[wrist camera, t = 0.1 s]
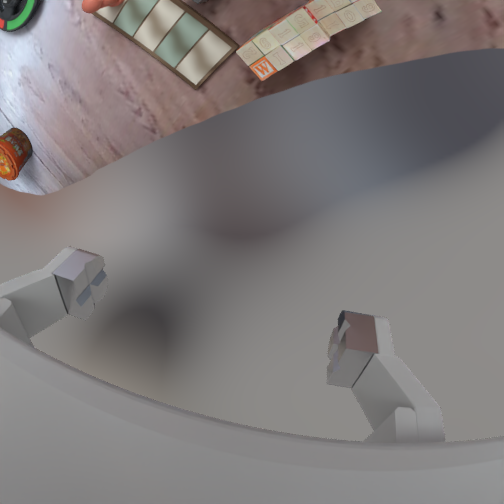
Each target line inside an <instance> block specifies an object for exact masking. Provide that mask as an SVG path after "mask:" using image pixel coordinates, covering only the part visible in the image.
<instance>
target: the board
mask: <svg viewBox="0 0 504 504" xmlns="http://www.w3.org/2000/svg"><path fill="white" fill-rule="evenodd" d="M92 14H93V15H95V16H96V17H98V18H99V19H101V20H102V21H104V22H105V23H107V24H108V25H110V26H111V27H113V28H114V29H116V30H117V31H118V32H120V33H121V34H123V35H124V36H126V37H127V38H128V39H130V40H131V41H133V42H134V43H135V44H137V45H138V46H139V47H141V48H142V49H144V50H145V51H146V52H148V53H149V54H150V55H152V56H153V57H154V58H156V59H157V60H158V61H160V62H161V63H162V64H164V65H165V66H166V67H167V68H169V69H170V70H171V71H173V72H174V73H175V74H176V75H178V76H179V77H180V78H182V79H183V80H184V81H185V82H187V83H188V84H189V85H190V86H192V87H193V88H194V89H195V90H196V89H197V88H198V87H199V86H200V85H201V84H202V83H203V82H204V81H205V80H206V79H207V78H208V77H209V76H210V75H211V73H212V72H213V71H214V70H215V69H216V68H217V67H218V66H219V65H220V64H221V63H222V62H223V61H224V60H225V59H226V58H227V57H228V56H229V55H230V54H231V53H232V52H233V51H235V50H236V49H237V48H238V47H239V45H238V44H237V43H236V42H235V41H234V40H232V39H231V38H230V37H229V36H227V35H226V34H225V33H224V32H223V31H221V30H220V29H219V28H218V27H216V26H215V25H214V24H213V23H211V22H210V21H209V20H207V19H206V18H205V17H203V16H202V15H201V14H200V13H198V12H197V11H196V10H194V9H193V8H191V7H190V6H189V5H187V4H186V3H185V2H183V1H182V0H124V1H123V2H122V3H121V4H120V5H118V6H115V7H110V6H107V7H104V8H101V9H99V10H98V11H96V12H94V13H92Z"/></svg>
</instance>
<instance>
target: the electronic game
mask: <svg viewBox="0 0 504 504" xmlns="http://www.w3.org/2000/svg"><path fill="white" fill-rule="evenodd" d="M21 1H22V0H0V29H1V30H3V31H7V32H12V31H16V30H18V29H20V28H22V27H23V26H25V25H26V24H27V23H28V22H29V21H30V20H31V19H32V17H33V16H34V14H35V12H36V10H37V8H38V5H39V2H40V0H26V1H25V4H24V6H23V7H22V9H21V10H20V11H19V12H18V13H17V14H16V15H15V9H16V6H17V5H18V4H20V3H21ZM1 3H2V4H3V6H4V9H3V7H2V4H1Z"/></svg>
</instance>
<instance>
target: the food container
mask: <svg viewBox="0 0 504 504" xmlns="http://www.w3.org/2000/svg"><path fill="white" fill-rule="evenodd" d="M31 155H32V146H31V143H30V141H29V139H28V137H27V136H26V135H25V133H24V132H23V131H21V130H20V129H18V128H11V129H10V130H8V131H7V132H6V133H4V134H3V135H1V136H0V177H2V178H3V179H5V178H6V179H7V180H15V179H16V178H17V177H18V175H19V172H20V170H21V169H22V167H23V166H24V165H25V163H26V162H27V161H28V159H29V158H30V157H31Z"/></svg>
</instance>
